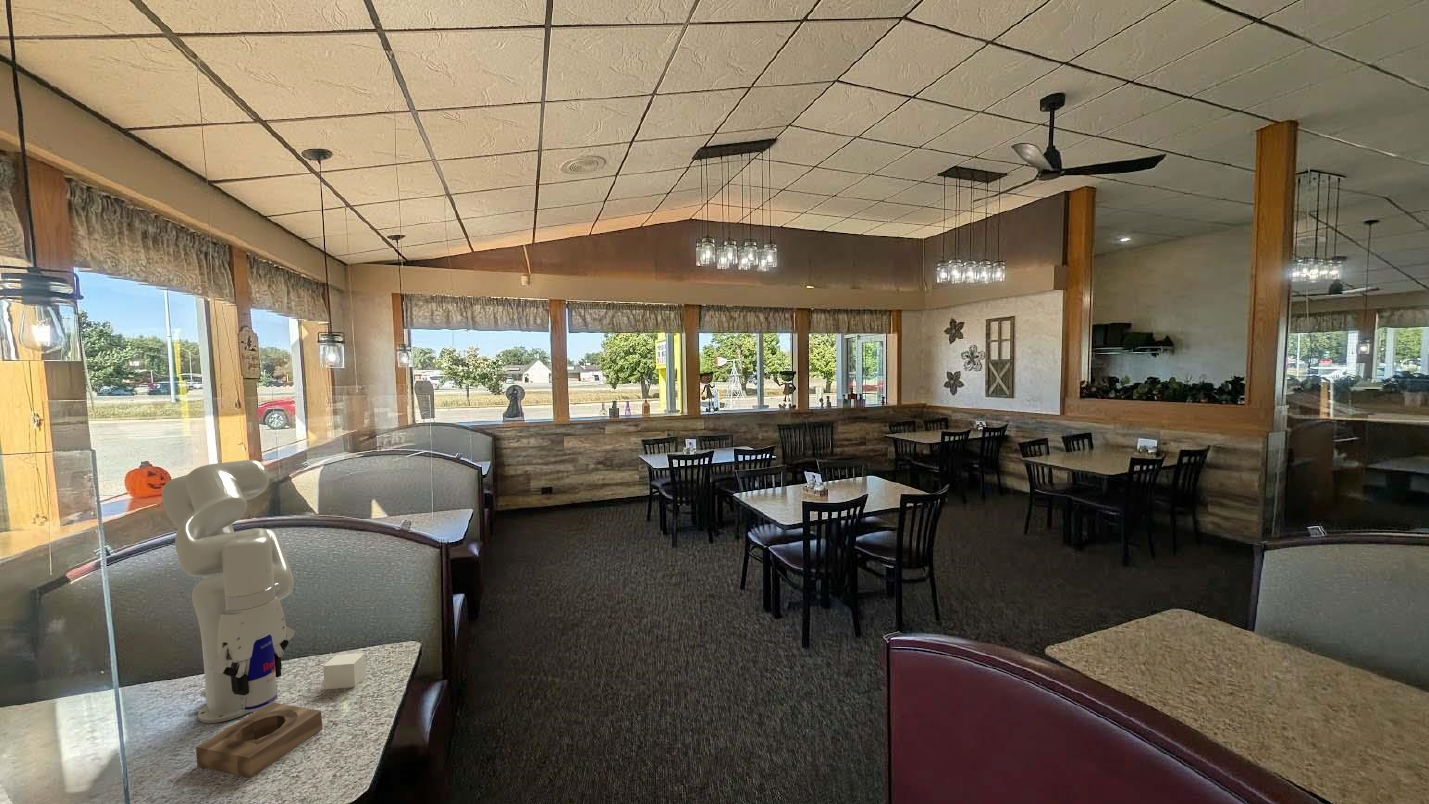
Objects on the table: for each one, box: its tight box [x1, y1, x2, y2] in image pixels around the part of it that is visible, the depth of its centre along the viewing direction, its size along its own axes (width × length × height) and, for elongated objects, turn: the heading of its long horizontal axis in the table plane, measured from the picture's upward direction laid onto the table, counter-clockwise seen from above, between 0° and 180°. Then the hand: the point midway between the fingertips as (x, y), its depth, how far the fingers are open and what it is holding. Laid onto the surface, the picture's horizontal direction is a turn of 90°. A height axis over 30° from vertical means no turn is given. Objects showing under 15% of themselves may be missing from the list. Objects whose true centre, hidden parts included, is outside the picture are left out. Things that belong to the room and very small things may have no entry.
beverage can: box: [240, 633, 278, 713], centre depth 106 cm, size 6×6×15 cm
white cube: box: [322, 652, 368, 690], centre depth 129 cm, size 7×5×6 cm
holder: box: [195, 702, 323, 779], centre depth 107 cm, size 14×14×4 cm
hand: (258, 684), depth 106 cm, fingers closed on beverage can, 5 cm apart
